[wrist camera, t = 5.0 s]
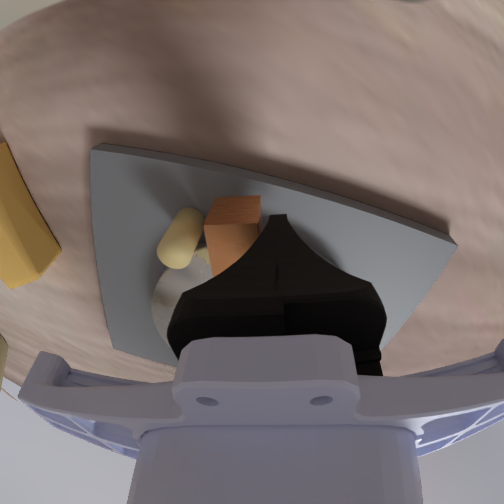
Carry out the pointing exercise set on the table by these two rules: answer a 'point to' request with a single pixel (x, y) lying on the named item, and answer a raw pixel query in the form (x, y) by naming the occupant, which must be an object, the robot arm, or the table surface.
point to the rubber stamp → (21, 229)
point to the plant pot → (2, 357)
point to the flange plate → (181, 285)
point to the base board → (273, 202)
